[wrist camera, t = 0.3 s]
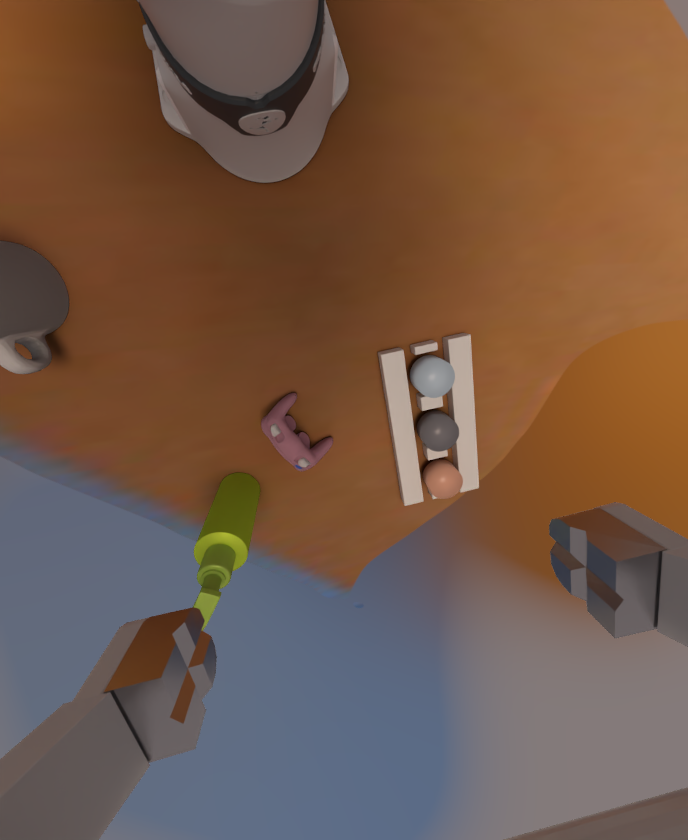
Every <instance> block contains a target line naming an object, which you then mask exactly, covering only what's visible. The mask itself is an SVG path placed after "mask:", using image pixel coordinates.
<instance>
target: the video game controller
mask: <svg viewBox="0 0 688 840" xmlns="http://www.w3.org/2000/svg"><path fill="white" fill-rule="evenodd" d="M296 398H297V394H296V393H290V394H288V395H287V396H285V397H284V398H283V399H281V400H280V401H279V402H278V403H277V404H276V405H275V406H274V407H273V409H272V410H271V411H270V412H269V413H268V415H267V416H265V417H264V418H263V419H262V421H261V426H262V430H263V432H264V434H265V435H266V436H267V437H268V438H269V439H270V441H271V442H272V444H273V445H274V447H275V448H276V449H277V451H278V452H279V453H280V454H281V455H282V456H283V457H284V458H285V459H286V460H287V461H288V462H289V463H291V464H292V465H293V466H294V468H296V469H297V470H298V471H305V470H307V469H310V468H312V467H313V466H314V465H315V464H316V463H317V462H318V461H319V460H320V459H321V458H322V457H323V456H324V455H325V454H326V452H327V451H328V450H329V449H330V448H331V446H332V444H333V438H332V437H328V438H325V439H323V440H321V441H320V442H319V443H317V444H316V445H315V446H314V447H312V448H311V449H310V440H309V437H308V435H307V434H306V433H304V432H301V433H298V434H295V433H294V432H293V431H294V430H295V428H296V423H295V421H294V419H293V418H292V417H291V416H285V415H286V413H287V412H288V410H289V409H290V408H291V406H292V405H293V404H294V403H295V401H296Z"/></svg>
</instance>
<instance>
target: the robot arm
mask: <svg viewBox="0 0 688 840" xmlns="http://www.w3.org/2000/svg"><path fill="white" fill-rule="evenodd" d="M137 1H138V3H139V4H140V8H141V11H142V13H143V16H144V19H145V21H146V24H147V25H143V33H144V37H145V40H146V43H147V46H148V48H149V49H150V50H152V52H153V58H154V65H155V71H156V77H157V83H158V90H159V96H160V102H161V109H162V113H163V116H164V118H165V119H166V121H167V123H168V124H169V126H170V127H171V128H173V129H174V130H175V131H177V132H179V133H180V134H182V135H184V136H186V137H188V138H190V139H192V140H195V141H196V142H197V143H199V144H200V145H201V146H202V147H203V148H204V149H205V150H206V151H207V152H208V153H209V155H210V156H211V157H212V158H213V159H214V160H215V161H216V162H217V163H219V164H220V165H221V166H222V167H224V168H225V169H226V170H228V171H229V172H231V173H232V174H234V175H236V176H238V177H241V178H243V179H246V180H249V181H254V182H261V183H269V182H277V181H281V180H284V179H286V178H289V177H291V176H293V175H294V174H296V173H297V172H299V171H300V170H301V169H302V168H304V167H305V166H306V165H307V164H308V162H309V161H310V160H311V159H312V157H313V156H314V154H315V153H316V151H317V149H318V148H319V146H320V143H321V141H322V138H323V136H324V132H325V129H326V126H327V123H328V120H329V118H330V116H331V114H332V112H333V111H334V110H335V109H336V108H337V107H338V105H339V104H340V103H341V102H342V100H343V99H344V97H345V96H346V93H347V91H348V84H349V78H348V73H347V69H346V66H345V63H344V60H343V56H342V53H341V50H340V47H339V43H338V40H337V37H336V34H335V30H334V27H333V24H332V20H331V17H330V14H329V11H328V7H327V4H326V1H325V0H137ZM549 531H550V533H549V534H550V536H551V537H552V538H553V539H554V540H555V541H556V543H555V544H554V546H553V548H552V549H551V551H550V555H551V564H552V567H553V569H554V572H555V574H556V576H557V578H558V579H559V581H560V582H561V584H562V585H563V586H564V587H565V588H566V589H567V591H568V592H569V593H570V594H572V595H574V596H576V597H579V598H581V599H583V600H585V601H586V602H587V610H588V612H589V613H590V614H591V615H592V616H593V617H594V618H595V619H596V620H597V621H598V622H599V623H600V624H601V625H602V626H603V627H604V628H605V629H606V630H607V631H608V632H609V633H610V634H611V635H612V636H613V637H614V638H619V637H623V636H627V635H631V634H636V633H640V632H645V631H649V630H654V629H657V631H658V632H660V633H662V634H664V635H666V636H668V637H669V638H671V639H674V640H675V641H677V642H679V643H681V644H683V645H685V646H687V647H688V539H686V538H684V537H682V536H681V535H679V534H677V533H675V532H674V531H672V530H670V529H668V528H666V527H664V526H662V525H661V524H659V523H657V522H655V521H654V520H652V519H650V518H648V517H646V516H644V515H643V514H641V513H639V512H637V511H636V510H634V509H632V508H630V507H628V506H626V505H625V504H621V503H616V502H614V503H611V504H607V505H603V506H600V507H596V508H594V509H591V510H587V511H583V512H579V513H575V514H571V515H567V516H563V517H559V518H555V519H552V520H551V523H550V525H549ZM204 622H205V620H204V618H203V616H202V613H201V611H200V609H198V608H195V607H193V608H189V609H184V610H179V611H175V612H170V613H166V614H162V615H157V616H152V617H149V618H145V619H141V620H136V621H132V622H127V623H126V624H124V625H123V626H121V627H120V628H119V630H118V631H117V632H116V634H115V636H114V637H113V639H112V640H111V642H110V644H109V645H108V647H107V648H106V650H105V651H104V653H103V655H102V656H101V658H100V659H99V661H98V662H97V664H96V665H95V667H94V669H93V670H92V672H91V673H90V675H89V676H88V678H87V679H86V681H85V683H84V684H83V686H82V687H81V689H80V691H79V692H78V693H77V695H76V697H75V698H74V700H73V701H72V702H69V703H65V704H63V705H62V706H61V707H60V708H58V709H57V710H56V711H55V712H54V713H53V714H52V715H50V717H48V718H47V719H46V720H45V721H44V722H42V723H41V724H40V725H39V726H38V727H37V728H36V729H35V730H33V731H32V732H31V733H30V734H29V735H28V736H26V737H25V738H24V739H23V740H22V741H21V742H20V743H18V744H17V745H16V746H15V747H14V748H13V749H12V750H10V751H9V752H8V753H7V754H6V755H5V756H4V757H3V758H1V759H0V840H99V838H100V837H101V835H102V834H103V833H104V831H105V830H106V828H107V827H108V825H109V824H110V822H111V821H112V820H113V818H114V817H115V815H116V814H117V812H118V811H119V809H120V808H121V807H122V805H123V804H124V802H125V801H126V799H127V798H128V796H129V795H130V793H131V792H132V791H133V789H134V788H135V786H136V785H137V783H138V782H139V781H140V779H141V778H142V776H143V775H144V773H145V772H146V770H147V769H148V768H149V766H150V765H149V762H153V761H156V760H160V759H163V758H167V757H170V756H173V755H176V754H180V753H183V752H187V751H190V750H193V749H195V748H196V744H197V741H198V737H199V734H200V730H201V726H202V722H203V719H204V715H205V712H206V709H205V707H204V704H203V702H202V699H203V698H204V696H205V695H206V694H207V693H208V691H209V690H210V689H211V688H212V685H213V682H214V678H215V673H216V658H217V657H216V650H215V645H214V642H213V640H212V637H211V636H210V635H208V634H207V633H205V632H203V631H202V627H203V624H204ZM504 840H688V787H687V788H684V789H680V790H677V791H673V792H670V793H666V794H663V795H659V796H656V797H652V798H648V799H645V800H642V801H638V802H635V803H631V804H628V805H624V806H620V807H617V808H613V809H610V810H606V811H603V812H599V813H596V814H593V815H589V816H585V817H582V818H578V819H575V820H571V821H568V822H564V823H561V824H557V825H554V826H550V827H547V828H543V829H540V830H536V831H533V832H529V833H525V834H522V835H518V836H515V837H512V838H508V839H504Z"/></svg>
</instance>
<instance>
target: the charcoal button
mask: <svg viewBox="0 0 688 840" xmlns="http://www.w3.org/2000/svg"><path fill="white" fill-rule="evenodd" d="M417 434H418V436H419V437H420V439H421V440H422V441H423V442H424V444H425V445H426V446H427V447H428V448H429V449H430V450H432V451H436V452H441V451H445V450H447V449H449V448H451V447H452V446H453V445H454V444H455V443H456V441H457V439H458V437H459V428H458V425H457V424H456V422H455V421H453V420H452V419H451V418H450V417H449V416H448V415H447V414H445V413H444V412H442V411H438V410H434V411H429V412H427V413H425V414H424V415H423V416H422V417H421V418H420V419H419V421H418V424H417Z"/></svg>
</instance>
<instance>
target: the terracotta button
mask: <svg viewBox="0 0 688 840" xmlns="http://www.w3.org/2000/svg"><path fill="white" fill-rule="evenodd" d="M423 480H424V482H425V484H426V485H427V487H428V488H429V490H430V492H431V493H432V494H433V495H434V496H435V497H437V498H440V499H447V498H450V497H452V496H454V495H456V494H457V493H458V492H459V491H460V489H461V487H462V485H463V478H462V475H461V474H460V473H459V471H458V470H457V469H456V468H455V467H454V466H453V464H452V463H451V462H449V461H448V460H445V459H437V460H434V461H432V462H430V463H429V464H428V465H427V466H426V467H425V469H424V471H423Z"/></svg>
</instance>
